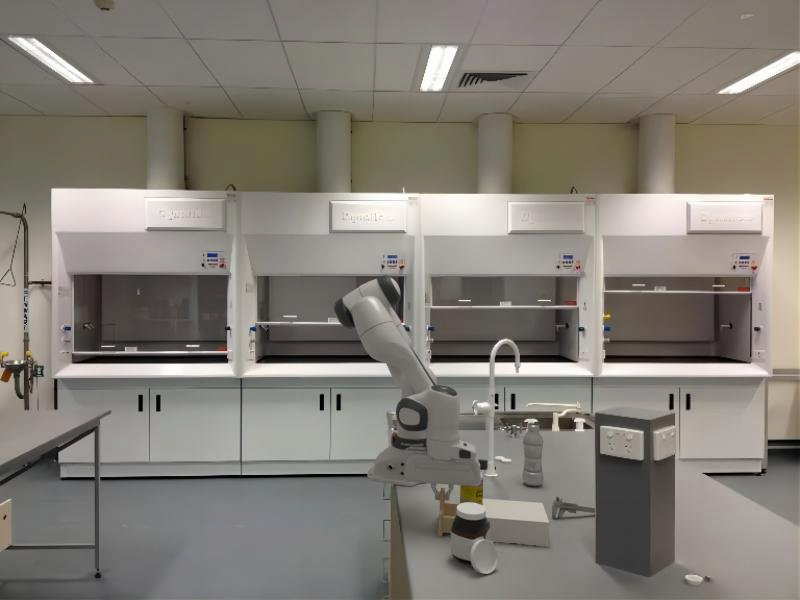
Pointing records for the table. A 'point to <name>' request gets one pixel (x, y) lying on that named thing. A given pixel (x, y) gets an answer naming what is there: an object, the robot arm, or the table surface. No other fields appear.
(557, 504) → the caliper
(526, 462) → the plastic bottle
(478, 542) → the spread jar
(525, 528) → the sleeve
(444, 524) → the tray
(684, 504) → the table surface
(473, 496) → the supplement bottle
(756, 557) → the table surface
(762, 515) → the table surface
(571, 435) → the table surface
